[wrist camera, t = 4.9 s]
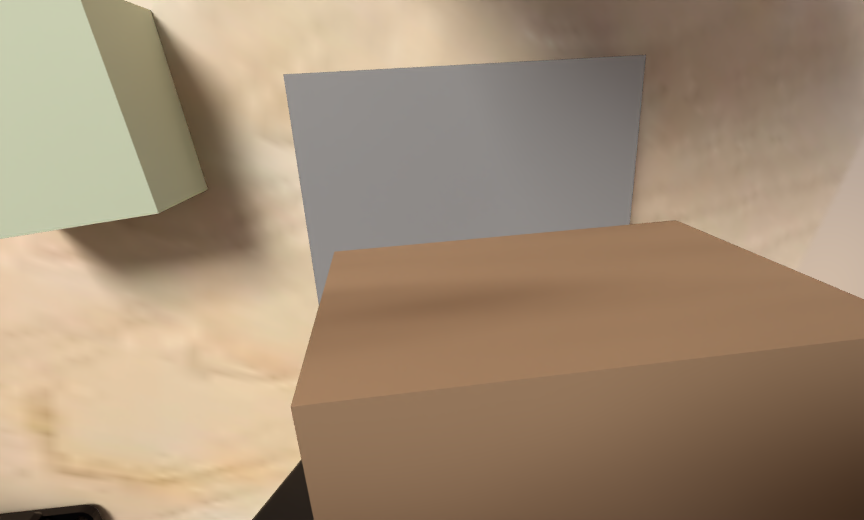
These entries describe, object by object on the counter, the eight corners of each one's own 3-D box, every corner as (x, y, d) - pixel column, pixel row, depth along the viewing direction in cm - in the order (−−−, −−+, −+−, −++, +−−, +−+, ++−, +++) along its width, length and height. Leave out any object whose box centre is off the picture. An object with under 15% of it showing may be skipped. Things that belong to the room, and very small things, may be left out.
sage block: (209, 188, 17) (158, 213, 13) (49, 214, 17) (-49, 246, 13) (153, 11, 15) (74, -19, 11) (-31, 38, 15) (-173, 17, 11)
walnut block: (641, 479, 10) (795, 705, 6) (372, 517, 10) (368, 786, 6) (676, 220, 8) (937, 329, 4) (334, 251, 8) (290, 406, 4)
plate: (600, 345, 21) (616, 362, 19) (336, 370, 20) (332, 390, 18) (624, 58, 17) (645, 55, 15) (293, 77, 16) (283, 74, 14)
